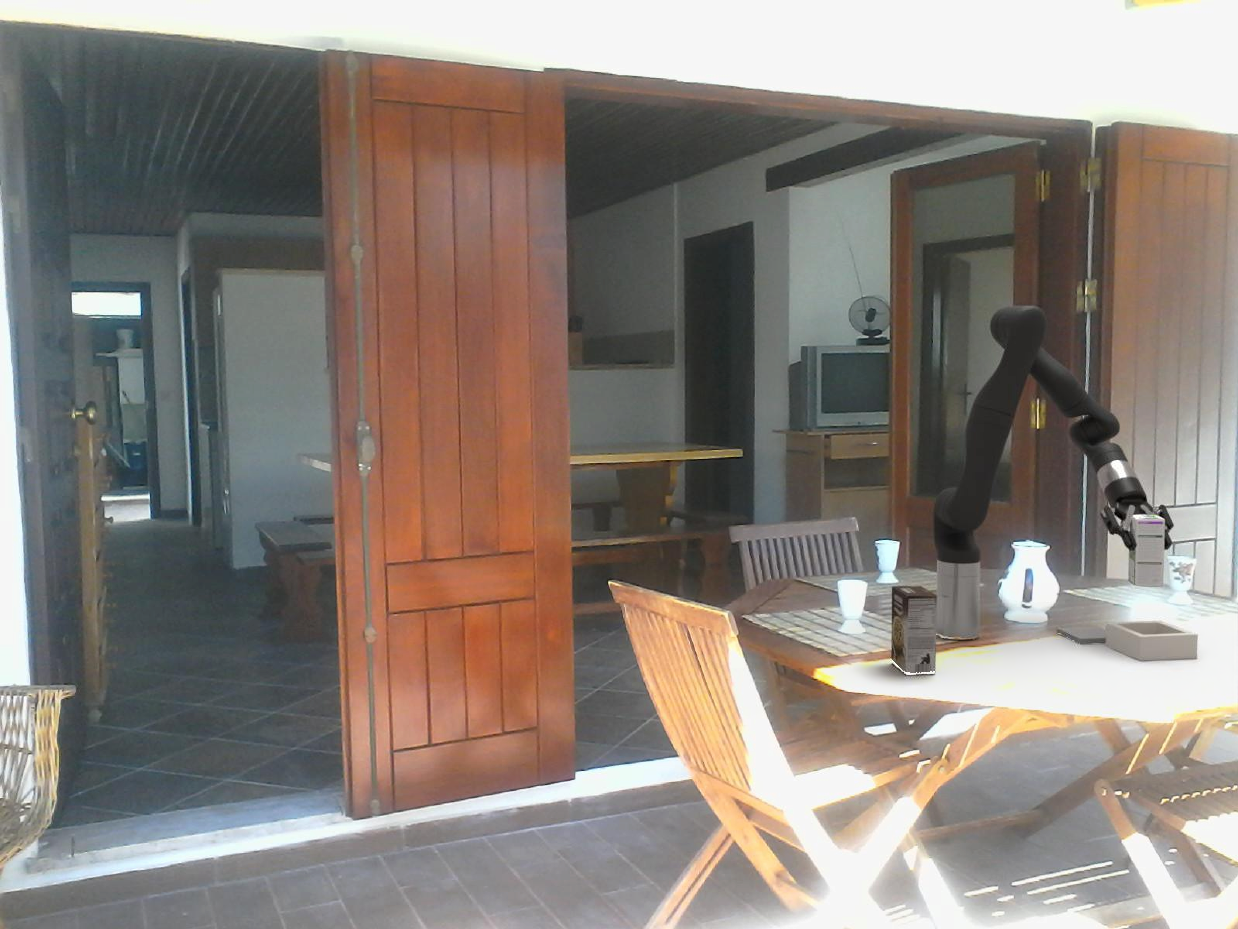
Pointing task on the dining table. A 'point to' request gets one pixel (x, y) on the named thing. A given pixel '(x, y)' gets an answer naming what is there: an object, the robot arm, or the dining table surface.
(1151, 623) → the open rectangular tray
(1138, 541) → the syrup box
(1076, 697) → the dining table surface
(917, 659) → the coffee box
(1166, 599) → the dining table surface
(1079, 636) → the tile
